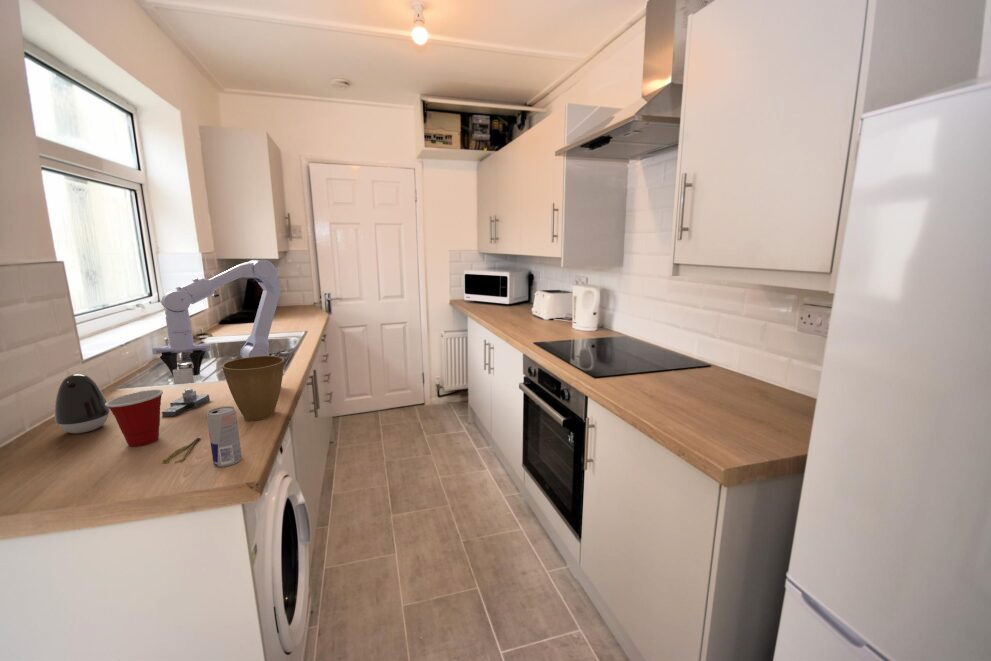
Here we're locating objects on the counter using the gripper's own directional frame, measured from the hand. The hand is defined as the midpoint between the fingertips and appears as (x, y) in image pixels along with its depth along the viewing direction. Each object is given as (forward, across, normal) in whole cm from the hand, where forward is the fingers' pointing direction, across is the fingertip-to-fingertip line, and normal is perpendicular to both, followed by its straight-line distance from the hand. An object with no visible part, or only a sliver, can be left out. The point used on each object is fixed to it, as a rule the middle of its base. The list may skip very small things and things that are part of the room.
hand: (186, 375), depth 125 cm
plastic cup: (+10, +1, +26) cm, 28 cm away
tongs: (+10, -11, +35) cm, 38 cm away
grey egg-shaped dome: (+10, +19, +13) cm, 25 cm away
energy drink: (+10, -23, +44) cm, 51 cm away
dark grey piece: (+9, +1, +3) cm, 10 cm away
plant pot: (+10, -23, +16) cm, 30 cm away
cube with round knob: (+2, 0, 0) cm, 2 cm away
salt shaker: (+10, +13, -35) cm, 38 cm away
